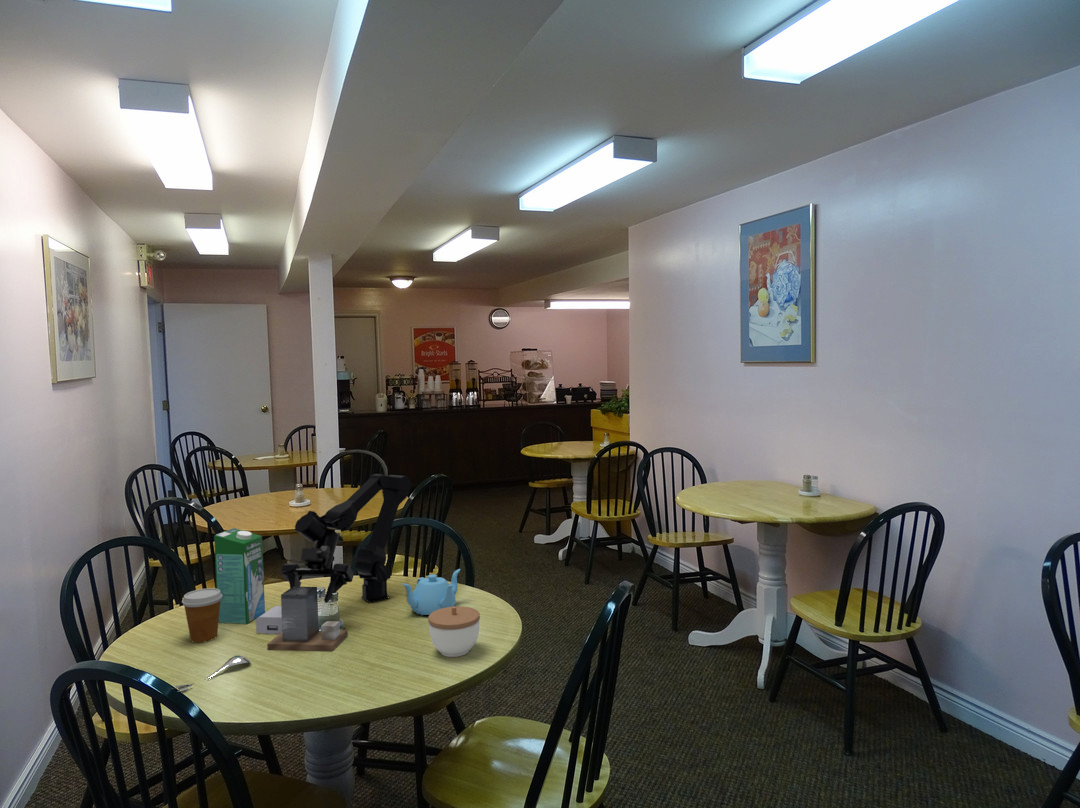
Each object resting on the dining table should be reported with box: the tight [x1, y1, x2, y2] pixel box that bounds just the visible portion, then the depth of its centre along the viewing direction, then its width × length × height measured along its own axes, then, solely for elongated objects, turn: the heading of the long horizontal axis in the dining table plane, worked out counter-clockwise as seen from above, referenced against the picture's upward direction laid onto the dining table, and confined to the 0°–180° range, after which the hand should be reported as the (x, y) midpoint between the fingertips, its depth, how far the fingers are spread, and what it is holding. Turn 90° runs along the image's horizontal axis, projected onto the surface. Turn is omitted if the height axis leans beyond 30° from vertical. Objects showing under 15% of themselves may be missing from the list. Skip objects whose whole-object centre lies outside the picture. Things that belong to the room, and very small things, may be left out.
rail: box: [266, 620, 349, 652], centre depth 173 cm, size 17×10×5 cm, turn 85°
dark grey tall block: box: [280, 586, 320, 642], centre depth 173 cm, size 7×7×12 cm
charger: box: [255, 605, 282, 635], centre depth 187 cm, size 5×9×15 cm
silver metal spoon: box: [173, 655, 252, 692], centre depth 154 cm, size 20×4×5 cm
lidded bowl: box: [427, 605, 481, 658], centre depth 166 cm, size 13×13×11 cm
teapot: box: [401, 568, 461, 616], centre depth 195 cm, size 15×15×10 cm
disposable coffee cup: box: [181, 587, 222, 643], centre depth 177 cm, size 10×10×12 cm
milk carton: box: [213, 527, 266, 625], centre depth 191 cm, size 9×9×25 cm
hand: (308, 602), depth 178 cm, fingers open, 9 cm apart
